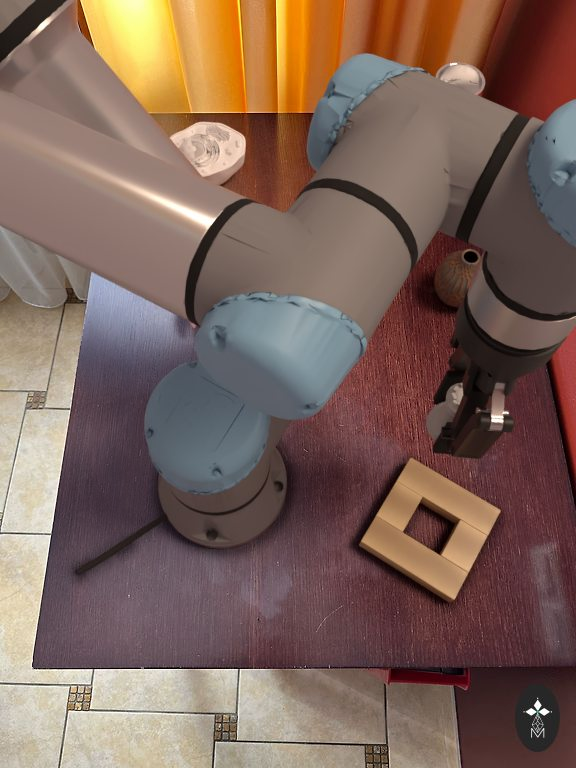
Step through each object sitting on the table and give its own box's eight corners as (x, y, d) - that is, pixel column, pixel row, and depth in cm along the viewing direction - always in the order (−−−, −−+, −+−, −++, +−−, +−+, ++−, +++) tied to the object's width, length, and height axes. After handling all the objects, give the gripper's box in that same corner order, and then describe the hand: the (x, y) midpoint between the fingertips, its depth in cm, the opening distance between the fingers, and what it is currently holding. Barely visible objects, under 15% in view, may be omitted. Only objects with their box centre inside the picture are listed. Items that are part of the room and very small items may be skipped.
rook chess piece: (468, 407, 70) (490, 373, 62) (470, 449, 68) (493, 419, 61) (424, 404, 70) (440, 371, 62) (425, 446, 68) (442, 416, 61)
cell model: (254, 191, 101) (252, 158, 95) (174, 205, 100) (167, 173, 94) (240, 140, 106) (238, 105, 99) (163, 153, 104) (156, 119, 98)
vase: (478, 319, 93) (496, 284, 85) (427, 310, 93) (440, 274, 85) (482, 277, 96) (500, 238, 88) (433, 268, 96) (446, 229, 88)
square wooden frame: (449, 603, 78) (454, 600, 75) (358, 545, 80) (360, 541, 78) (495, 515, 82) (501, 510, 79) (407, 463, 84) (410, 457, 82)
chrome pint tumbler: (405, 151, 105) (424, 70, 91) (445, 137, 106) (469, 54, 92) (428, 184, 102) (451, 105, 89) (468, 169, 103) (497, 89, 90)
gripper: (585, 429, 44) (486, 515, 65) (566, 208, 51) (482, 351, 72) (467, 418, 44) (406, 508, 65) (464, 199, 51) (411, 345, 72)
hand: (446, 425), depth 69 cm, fingers closed on rook chess piece, 4 cm apart
